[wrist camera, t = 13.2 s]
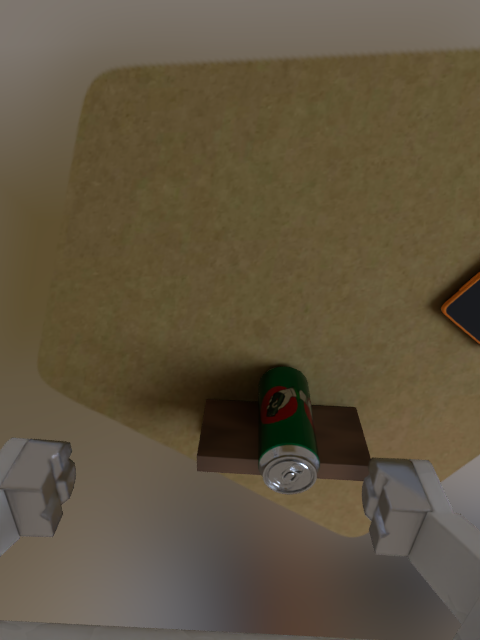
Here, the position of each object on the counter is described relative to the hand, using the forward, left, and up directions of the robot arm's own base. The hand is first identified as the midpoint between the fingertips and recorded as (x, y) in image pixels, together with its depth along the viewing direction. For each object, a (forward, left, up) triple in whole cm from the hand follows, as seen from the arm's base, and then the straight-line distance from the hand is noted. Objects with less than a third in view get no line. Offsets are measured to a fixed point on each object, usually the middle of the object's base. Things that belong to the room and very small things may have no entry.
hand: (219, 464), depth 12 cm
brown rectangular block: (+14, -20, -27) cm, 36 cm away
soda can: (+12, -15, -28) cm, 33 cm away
